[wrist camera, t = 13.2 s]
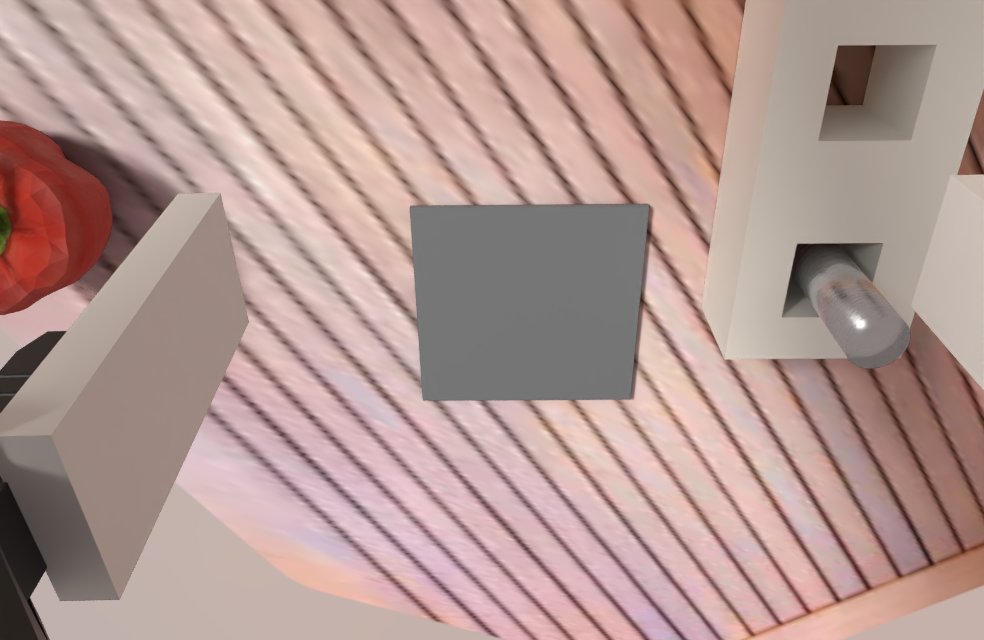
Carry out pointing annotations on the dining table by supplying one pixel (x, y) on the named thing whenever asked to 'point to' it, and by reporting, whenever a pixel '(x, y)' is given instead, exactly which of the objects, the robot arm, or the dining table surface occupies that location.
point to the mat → (528, 299)
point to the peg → (850, 305)
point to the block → (835, 160)
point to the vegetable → (45, 218)
